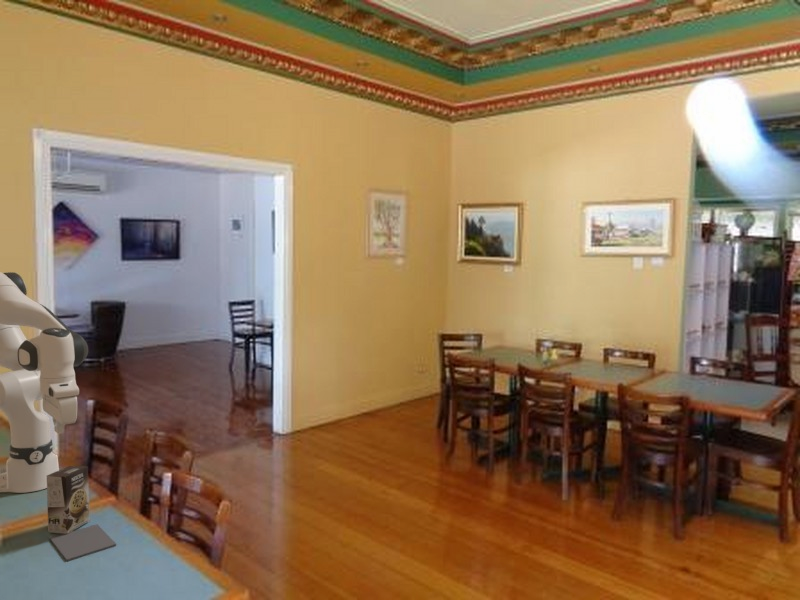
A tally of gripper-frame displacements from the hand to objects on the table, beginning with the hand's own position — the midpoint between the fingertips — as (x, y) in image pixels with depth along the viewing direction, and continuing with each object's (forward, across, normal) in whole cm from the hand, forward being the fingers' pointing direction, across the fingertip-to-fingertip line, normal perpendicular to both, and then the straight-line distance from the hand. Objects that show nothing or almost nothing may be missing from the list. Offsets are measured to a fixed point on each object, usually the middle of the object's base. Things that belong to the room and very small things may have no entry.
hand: (59, 432), depth 172 cm
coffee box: (+26, +8, 0) cm, 27 cm away
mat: (+26, +19, 0) cm, 32 cm away
